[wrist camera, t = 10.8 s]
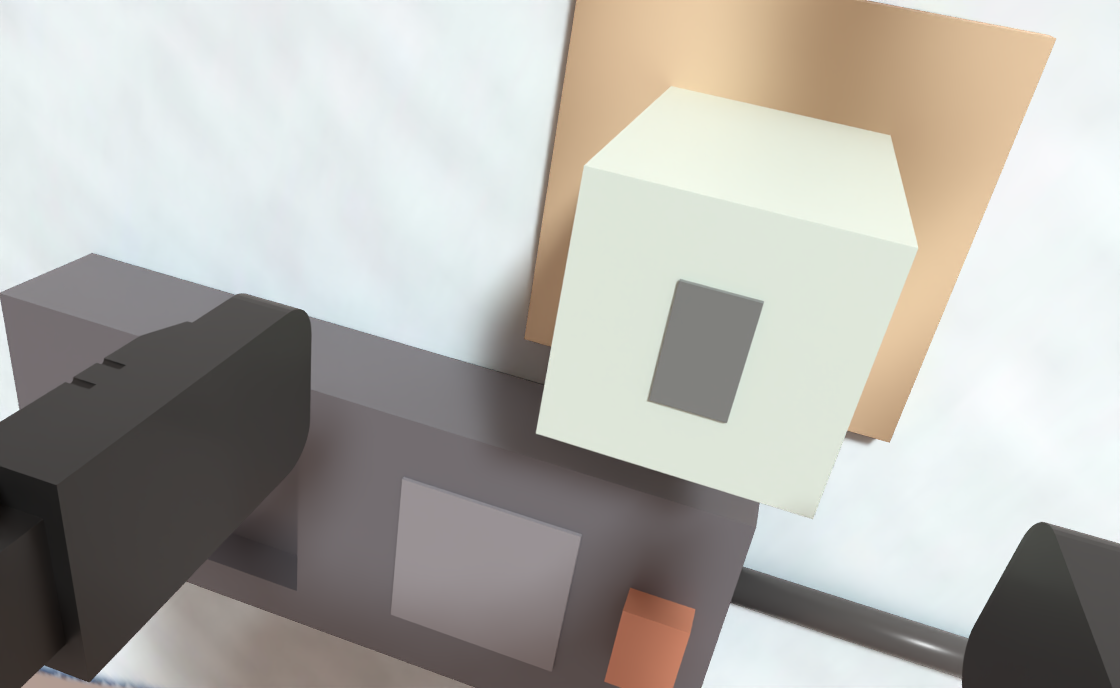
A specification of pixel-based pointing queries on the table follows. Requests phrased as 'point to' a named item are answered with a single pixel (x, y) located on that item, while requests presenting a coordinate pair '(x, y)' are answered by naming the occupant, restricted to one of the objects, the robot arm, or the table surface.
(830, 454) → the block
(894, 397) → the cork mat
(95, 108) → the table surface
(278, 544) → the power strip
